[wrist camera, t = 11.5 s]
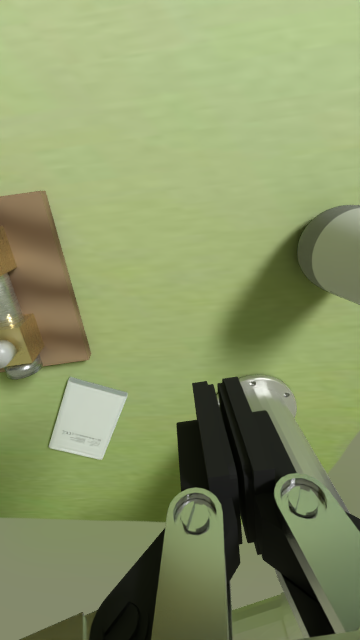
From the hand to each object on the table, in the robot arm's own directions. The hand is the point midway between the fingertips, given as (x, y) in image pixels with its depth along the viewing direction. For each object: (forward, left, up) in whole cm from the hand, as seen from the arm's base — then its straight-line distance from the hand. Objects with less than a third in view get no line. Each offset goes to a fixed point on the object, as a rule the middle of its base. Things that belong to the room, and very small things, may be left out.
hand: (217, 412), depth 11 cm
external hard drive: (-21, +16, -28) cm, 39 cm away
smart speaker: (-1, -18, -27) cm, 33 cm away
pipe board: (-1, +20, -27) cm, 34 cm away
